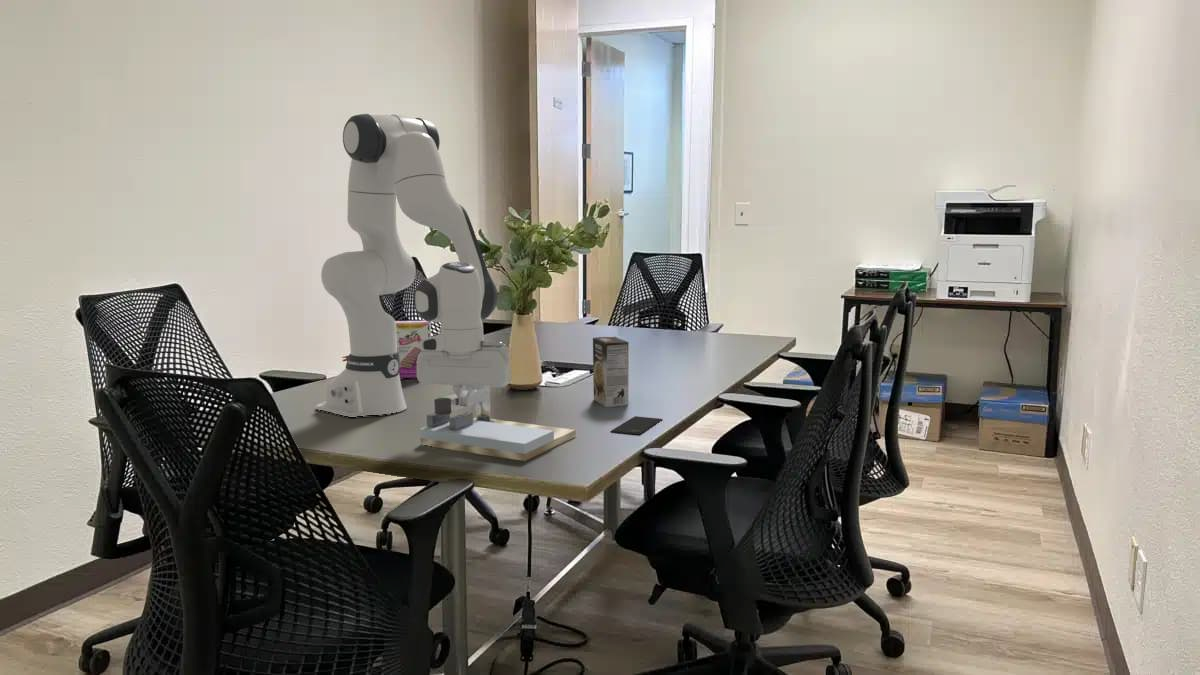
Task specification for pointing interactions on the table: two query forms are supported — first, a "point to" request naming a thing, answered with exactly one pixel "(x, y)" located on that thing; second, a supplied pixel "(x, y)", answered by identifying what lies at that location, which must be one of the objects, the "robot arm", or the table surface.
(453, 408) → the lock bar
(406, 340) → the candy bar box
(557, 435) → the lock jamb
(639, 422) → the smartphone
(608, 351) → the coffee box
